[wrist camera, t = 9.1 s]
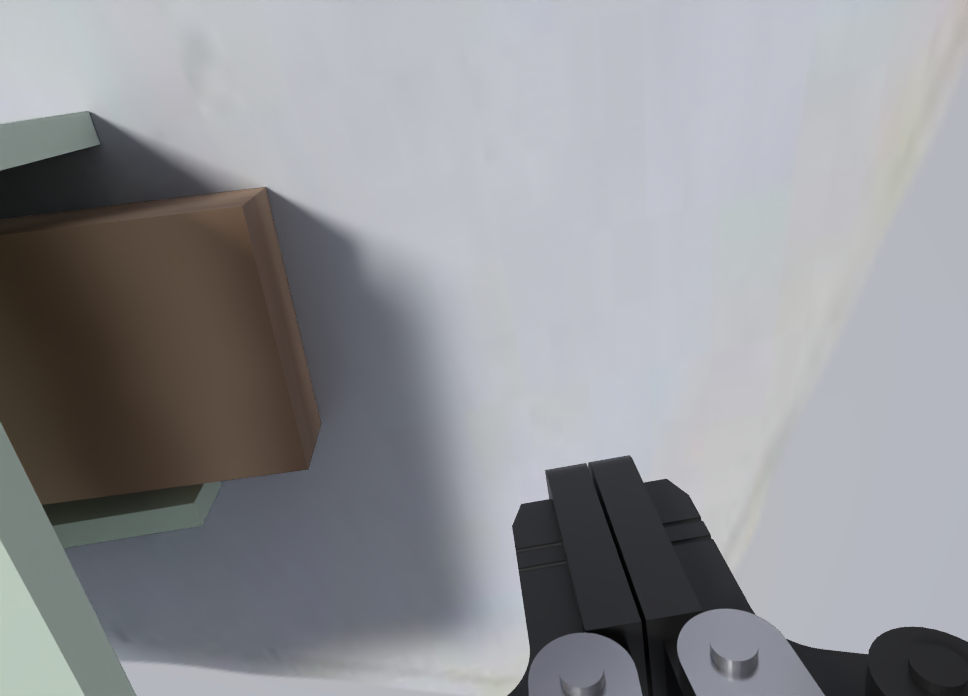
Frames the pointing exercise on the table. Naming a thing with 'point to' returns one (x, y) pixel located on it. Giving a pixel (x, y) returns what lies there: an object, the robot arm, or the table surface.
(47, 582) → the shelf
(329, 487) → the table surface
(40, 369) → the brown block
